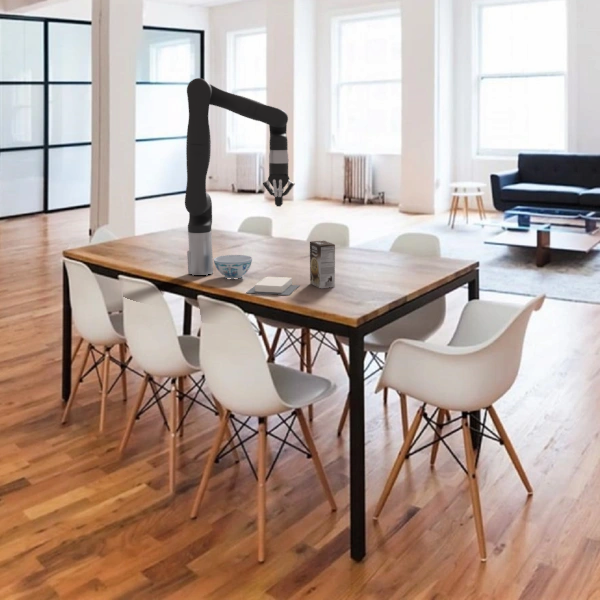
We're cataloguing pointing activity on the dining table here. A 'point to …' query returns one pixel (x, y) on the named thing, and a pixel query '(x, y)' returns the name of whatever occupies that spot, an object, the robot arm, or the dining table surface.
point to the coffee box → (322, 264)
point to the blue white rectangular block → (273, 284)
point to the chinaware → (233, 265)
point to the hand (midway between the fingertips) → (278, 206)
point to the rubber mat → (286, 292)
